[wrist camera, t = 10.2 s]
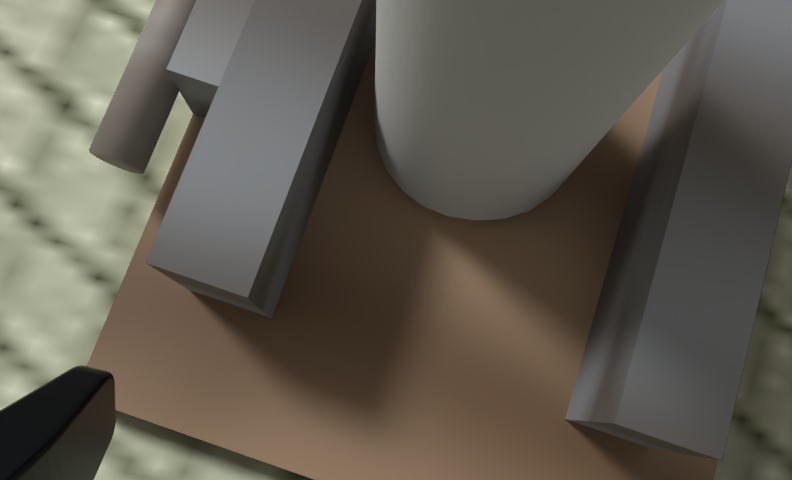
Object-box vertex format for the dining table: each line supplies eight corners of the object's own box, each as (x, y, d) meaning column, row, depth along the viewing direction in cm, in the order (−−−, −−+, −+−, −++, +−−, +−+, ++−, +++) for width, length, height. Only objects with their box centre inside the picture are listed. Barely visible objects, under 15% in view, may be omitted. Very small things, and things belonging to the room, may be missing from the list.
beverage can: (609, 171, 18) (1040, -239, 7) (435, 266, 18) (568, -4, 6) (508, 10, 19) (730, -616, 7) (338, 94, 18) (285, -444, 7)
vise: (664, 597, 17) (765, 664, 13) (42, 379, 18) (-65, 371, 13) (824, -68, 21) (945, -192, 17) (307, -232, 22) (291, -394, 17)
